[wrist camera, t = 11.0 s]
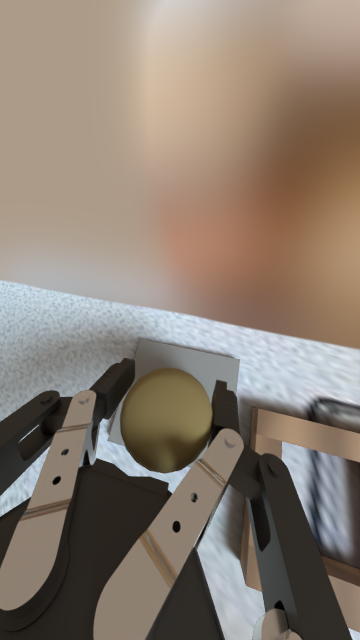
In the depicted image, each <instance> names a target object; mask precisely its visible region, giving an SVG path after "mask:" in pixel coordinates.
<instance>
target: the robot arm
mask: <svg viewBox="0 0 360 640" xmlns="http://www.w3.org/2000/svg"><path fill="white" fill-rule="evenodd" d="M134 379H135V360H132V359H128V358H124V359H123V360H122V361H121V363H116V364H114V365H112V366H111V367H110V368H109V369H108V370H107V371H106V372H105V373H104V374H103V376H101V377H100V378H99V379H98V380H97V381H96V383H95V384H94V385H93V386H92V387H91V388H90V389H89V390H85V391H82V392H79V393H78V394H76V395H75V396H74V397H60V395H59V393H58V392H57V391H46V392H43V393H41V394H39V395H38V396H36V397H35V398H33V399H32V400H31V401H29V402H28V403H26V404H25V405H24V406H22V407H21V408H19V409H18V410H17V411H15V412H14V413H12V414H11V415H9V416H8V417H7V418H5V419H4V420H2V421H1V422H0V496H1V495H2V494H3V493H4V492H5V491H6V490H7V489H8V488H9V487H10V486H11V484H12V483H13V482H14V481H15V480H16V479H17V478H18V477H19V476H20V475H21V474H22V473H23V472H24V471H25V470H26V469H27V468H28V467H29V466H30V465H31V464H32V463H33V462H34V461H35V460H36V459H37V458H38V457H39V456H40V455H41V454H42V453H43V452H44V451H45V450H46V449H47V448H48V447H49V446H50V445H51V446H50V449H49V451H48V454H47V457H46V459H45V462H44V465H43V467H42V470H41V473H40V475H39V478H38V481H37V483H36V486H35V489H34V491H33V494H32V497H30V498H29V499H27V500H26V501H24V502H22V503H21V504H19V505H18V506H16V507H15V508H13V509H12V510H10V511H9V512H7V513H5V514H4V515H2V516H1V517H0V640H225V638H224V635H223V632H222V629H221V625H220V622H219V619H218V616H217V613H216V609H215V606H214V603H213V600H212V597H211V594H210V590H209V587H208V584H207V581H206V578H205V574H204V571H203V568H202V565H201V562H200V559H199V555H198V552H197V550H198V547H199V545H200V543H201V541H202V539H203V537H204V535H205V533H206V531H207V529H208V527H209V525H210V523H211V520H212V518H213V516H214V514H215V512H216V509H217V507H218V505H219V503H220V501H221V499H222V497H223V495H224V493H225V491H226V489H227V487H228V485H229V484H230V485H231V486H232V487H234V488H235V489H236V490H238V491H239V492H240V493H242V494H243V495H244V496H246V500H247V506H248V512H249V517H250V523H251V529H252V535H253V541H254V547H255V553H256V559H257V565H258V571H259V577H260V582H261V588H262V594H263V600H264V606H265V612H266V614H264V615H263V616H262V617H261V618H259V619H258V621H257V622H256V624H255V626H254V630H253V636H252V640H352V638H351V635H350V632H349V630H348V627H347V624H346V622H345V619H344V616H343V614H342V611H341V608H340V606H339V603H338V600H337V598H336V595H335V592H334V590H333V587H332V584H331V582H330V579H329V576H328V574H327V571H326V568H325V566H324V563H323V560H322V558H321V555H320V552H319V550H318V547H317V544H316V542H315V539H314V536H313V534H312V531H311V528H310V526H309V523H308V520H307V518H306V515H305V512H304V510H303V507H302V505H301V502H300V499H299V497H298V494H297V491H296V489H295V486H294V483H293V481H292V478H291V475H290V473H289V470H288V468H287V466H286V465H285V464H284V462H283V461H282V460H281V459H280V458H278V457H277V456H275V455H273V454H270V453H264V454H262V455H260V454H258V453H257V452H255V451H253V450H252V449H250V448H249V447H248V446H247V445H246V444H245V443H244V442H243V440H242V438H241V436H240V431H239V418H238V406H237V397H236V395H235V393H234V391H231V390H227V382H225V381H221V380H216V383H215V387H214V391H213V396H212V402H211V408H212V412H213V420H212V431H211V434H210V437H209V440H208V449H207V450H206V452H205V453H204V455H203V456H202V458H201V459H200V460H199V459H198V460H197V461H196V462H195V463H194V464H193V466H192V467H191V469H190V470H189V471H188V473H187V474H186V476H185V477H184V478H183V480H182V481H181V483H180V484H179V486H178V487H177V488H176V490H175V491H174V493H173V494H172V493H171V492H170V491H169V490H168V485H169V483H167V482H164V481H161V480H158V479H155V478H152V477H136V476H128V475H127V474H125V473H124V472H123V471H122V470H120V469H119V468H118V467H117V466H115V465H114V464H112V463H109V462H106V461H103V460H100V459H98V458H97V459H96V460H95V455H96V448H97V441H98V435H99V428H100V422H101V420H102V419H103V418H104V419H107V420H109V419H110V417H111V415H112V414H113V412H114V411H115V409H116V408H117V406H118V405H119V403H120V402H121V400H122V399H123V397H124V396H125V394H126V393H127V391H128V390H129V388H130V387H131V385H132V384H133V382H134ZM38 424H39V426H38V427H37V428H36V429H34V430H33V431H32V432H31V433H30V434H29V435H27V436H26V437H25V438H24V439H23V440H22V441H20V440H21V439H22V438H23V437H24V436H25V435H26V434H28V433H29V432H30V431H31V430H32V429H33V428H35V427H36V426H37V425H38ZM19 441H20V442H19Z"/></svg>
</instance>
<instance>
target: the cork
mask: <svg viewBox="0 0 360 640" xmlns="http://www.w3.org/2000/svg"><path fill="white" fill-rule="evenodd" d="M212 420H213V412H212V408H211V403H210V399H209V396H208V395H207V392H206V390H205V389H204V387H203V385H202V384H201V383H200V382H199V381H198V380H197V379H196V378H194V377H193V376H192V375H191V374H189V373H187V372H185V371H183V370H180V369H176V368H168V367H165V368H160V369H156V370H152V371H151V372H149V373H147V374H145V375H144V376H142V377H140V378H139V379H138V380H137V382H136V383H135V384H134V385H133V386H132V387H131V388H130V389H129V391H128V393H127V395H126V397H125V399H124V401H123V404H122V409H121V414H120V430H121V436H122V439H123V441H124V444H125V447H126V449H127V451H128V452H129V453H130V455H131V456H132V457H133V459H134V460H135V461H136V462H137V463H138V464H140V465H142V466H143V467H145V468H146V469H148V470H149V471H154V472H160V473H170V472H175V471H179V470H182V469H183V468H185V467H186V466H188V465H189V464H191V463H192V462H194V461H195V460H196V459H197V458H198V457H199V455H200V454H201V453H202V451H203V450H204V449H205V447H206V446H207V443H208V440H209V437H210V434H211V431H212Z"/></svg>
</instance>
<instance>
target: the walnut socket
mask: <svg viewBox="0 0 360 640" xmlns="http://www.w3.org/2000/svg"><path fill="white" fill-rule="evenodd" d="M282 441H283V442H287V443H291V444H294V445H298V446H302V447H305V448H309V449H313V450H316V451H320V452H324V453H327V454H331V455H335V456H338V457H342V458H346V459H349V460H353V461H357V462H360V433H356V432H352V431H348V430H344V429H340V428H336V427H332V426H328V425H324V424H320V423H316V422H312V421H308V420H304V419H299V418H295V417H291V416H287V415H283V414H279V413H275V412H271V411H267V410H263V409H259V408H255V407H252V418H251V430H250V443H249V448H250V449H252V450H253V451H255V452H257V453H258V454H260V455H262V454H264V453H270V454H273V455H275V456H277V457H278V458H280V459H281V457H282ZM321 558H322V560H323V563H324V566H325V568H326V571H327V574H328V576H329V579H330V582H331V584H332V587H333V590H334V592H335V595H336V598H337V600H338V603H339V606H340V608H341V611H342V614H343V616H344V619H345V622H346V624H347V627H348V628H350V629H352V630H355V631H357V632H360V569H358V568H355V567H352V566H349V565H346V564H344V563H341V562H338V561H335V560H333V559H330V558H327V557H324V556H322V555H321ZM240 564H241V568H242V572H243V576H244V580H245V584H246V586H248V587H251V588H253V589H256V590H258V591H260V592H262V588H261V582H260V577H259V571H258V565H257V559H256V553H255V547H254V541H253V535H252V529H251V523H250V517H249V512H248V506H247V500H246V496H245V505H244V517H243V530H242V542H241V555H240Z"/></svg>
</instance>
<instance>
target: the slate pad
mask: <svg viewBox="0 0 360 640" xmlns="http://www.w3.org/2000/svg"><path fill="white" fill-rule="evenodd" d="M133 360H135V379H134V382H133V384H132V385H131V387H132V386H133V385H134V384H135V383H136V382H137V380H138V379H139V378H140V377H142V376H144V375H145V374H147V373H149V372H151V371H152V370H156V369H160V368H165V367H168V368H176V369H180V370H183V371H185V372H187V373H189V374H191V375H192V376H193V377H194V378H196V379H197V380H198V381H199V382H200V383H201V384H202V385H203V387H204V389H205V390H206V392H207V395H208V396H209V399H210V403H211V402H212V396H213V391H214V387H215V383H216V380H221V381H225V382H227V390H231V391H234V393H235V395H236V390H237V381H238V372H239V363H240V359H235V358H230V357H225V356H221V355H216V354H211V353H206V352H202V351H197V350H192V349H187V348H183V347H178V346H173V345H168V344H163V343H159V342H154V341H149V340H144V339H140V341H139V344H138V347H137V350H136V353H135V356H134V359H133ZM131 387H130V388H131ZM130 388H129V389H130ZM128 391H129V390H128ZM128 391H127V393H128ZM127 393H126V394H125V396H124V397H123V399H122V400H121V402H120V403H119V406H118V409H117V412H116V415H115V419H114V422H113V425H112V428H111V431H110V434H109V437H108V440H107V441H110V442H113V443H116V444H119V445H123V446H125V444H124V441H123V439H122V436H121V430H120V414H121V409H122V404H123V401H124V399H125V397H126V395H127ZM207 449H208V443H207V446H206V447H205V449H204V450H203V451H202V453H201V454H200V455H199V457H198V458H197V459H196V460H195V461H194V462H192V463H191V464H189V465H188V467H192V466H193V464H194V463H195V462H196V461H197V460H198V459H199V460H200V459H201V458H202V456H203V455H204V453H205V452H206V450H207Z"/></svg>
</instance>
